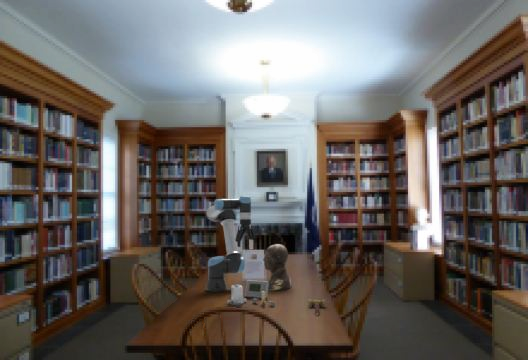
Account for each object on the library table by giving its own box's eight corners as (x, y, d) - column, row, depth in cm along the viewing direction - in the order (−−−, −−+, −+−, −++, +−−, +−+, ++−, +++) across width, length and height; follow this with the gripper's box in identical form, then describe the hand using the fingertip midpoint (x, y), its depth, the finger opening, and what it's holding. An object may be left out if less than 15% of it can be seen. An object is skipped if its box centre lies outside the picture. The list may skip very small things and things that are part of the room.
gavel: (326, 311, 215) (308, 310, 217) (326, 319, 216) (308, 318, 217) (324, 298, 236) (308, 298, 237) (325, 306, 236) (308, 305, 237)
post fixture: (252, 303, 243) (252, 290, 244) (254, 302, 245) (254, 289, 246) (272, 306, 236) (272, 293, 236) (274, 305, 238) (274, 292, 238)
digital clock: (243, 296, 260) (243, 280, 260) (250, 293, 267) (250, 278, 268) (264, 300, 251) (263, 283, 252) (271, 296, 259) (270, 280, 259)
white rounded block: (228, 304, 239) (228, 286, 240) (226, 301, 245) (226, 284, 245) (247, 302, 243) (247, 284, 243) (244, 300, 249) (244, 282, 249)
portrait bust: (291, 280, 310) (291, 241, 311) (290, 290, 275) (289, 247, 277) (265, 279, 312) (265, 241, 314) (260, 290, 277) (260, 246, 279)
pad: (227, 303, 242) (227, 302, 242) (235, 300, 249) (235, 300, 249) (238, 305, 238) (238, 304, 238) (245, 302, 245) (245, 301, 245)
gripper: (239, 220, 249) (239, 253, 248) (259, 218, 270) (260, 248, 269) (229, 219, 253) (229, 252, 252) (251, 217, 274) (251, 248, 273)
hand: (245, 250), depth 261 cm, fingers open, 13 cm apart
